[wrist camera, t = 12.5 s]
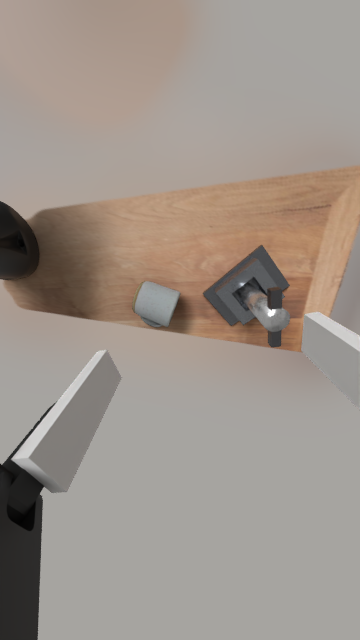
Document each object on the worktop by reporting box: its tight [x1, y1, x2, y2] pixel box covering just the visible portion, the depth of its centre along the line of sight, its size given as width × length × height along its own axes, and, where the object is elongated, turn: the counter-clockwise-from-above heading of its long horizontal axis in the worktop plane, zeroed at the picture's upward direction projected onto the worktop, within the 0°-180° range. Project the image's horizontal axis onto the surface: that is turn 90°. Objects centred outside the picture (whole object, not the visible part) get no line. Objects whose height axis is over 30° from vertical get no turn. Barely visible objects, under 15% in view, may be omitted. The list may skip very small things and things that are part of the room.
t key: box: [236, 282, 290, 347], centre depth 28 cm, size 8×3×15 cm, turn 13°
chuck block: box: [203, 245, 290, 326], centre depth 34 cm, size 10×14×4 cm
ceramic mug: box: [132, 281, 180, 327], centre depth 35 cm, size 11×8×8 cm
